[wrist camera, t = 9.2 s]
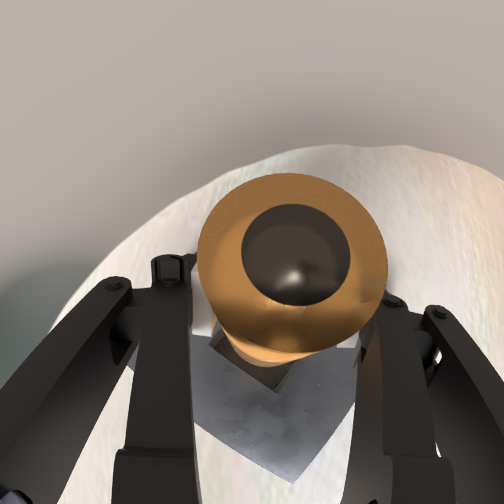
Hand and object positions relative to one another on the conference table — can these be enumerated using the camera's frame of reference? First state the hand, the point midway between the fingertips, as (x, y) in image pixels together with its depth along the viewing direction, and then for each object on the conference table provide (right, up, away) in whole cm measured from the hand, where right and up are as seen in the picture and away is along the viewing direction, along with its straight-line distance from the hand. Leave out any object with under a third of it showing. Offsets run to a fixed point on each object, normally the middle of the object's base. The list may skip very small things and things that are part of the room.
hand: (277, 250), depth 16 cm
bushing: (0, -5, +2) cm, 5 cm away
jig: (0, -8, +10) cm, 13 cm away
